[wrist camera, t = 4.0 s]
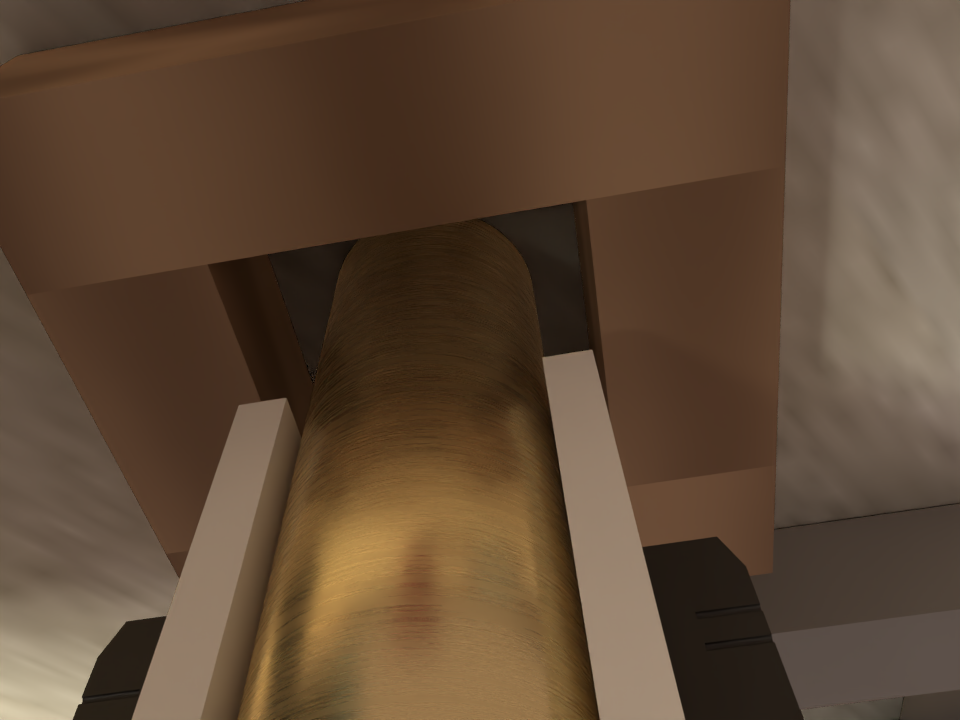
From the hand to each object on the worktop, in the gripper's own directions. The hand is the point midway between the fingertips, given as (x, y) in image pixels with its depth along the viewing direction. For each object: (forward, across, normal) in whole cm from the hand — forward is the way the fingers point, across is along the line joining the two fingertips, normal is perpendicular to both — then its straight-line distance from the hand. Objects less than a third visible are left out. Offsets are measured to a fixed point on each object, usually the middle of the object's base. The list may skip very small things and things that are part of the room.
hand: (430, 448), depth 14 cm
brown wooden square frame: (+5, 0, 0) cm, 5 cm away
